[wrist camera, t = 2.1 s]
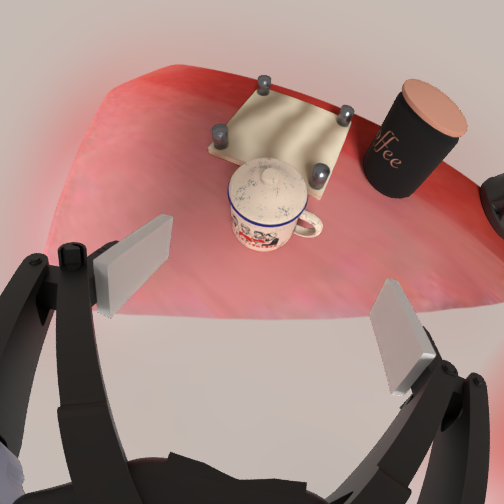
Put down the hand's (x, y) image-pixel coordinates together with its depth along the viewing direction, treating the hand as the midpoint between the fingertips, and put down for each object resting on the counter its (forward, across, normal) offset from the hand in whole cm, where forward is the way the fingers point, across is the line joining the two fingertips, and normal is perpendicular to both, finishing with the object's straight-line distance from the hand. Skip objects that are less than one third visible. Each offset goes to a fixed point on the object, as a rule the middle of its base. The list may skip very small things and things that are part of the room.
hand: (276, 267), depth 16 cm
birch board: (+35, -3, +7) cm, 36 cm away
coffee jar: (+34, +16, +6) cm, 38 cm away
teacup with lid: (+23, -1, -6) cm, 24 cm away
